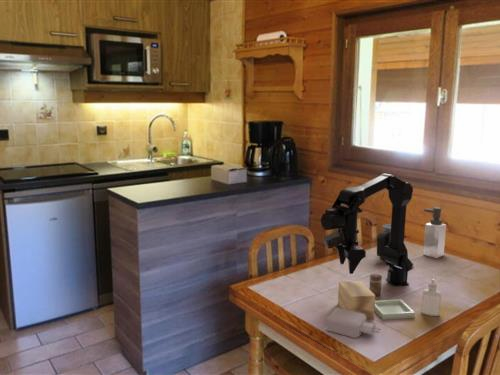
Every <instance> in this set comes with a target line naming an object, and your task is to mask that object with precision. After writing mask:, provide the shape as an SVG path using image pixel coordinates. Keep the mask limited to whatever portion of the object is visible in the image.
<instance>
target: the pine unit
mask: <svg viewBox="0 0 500 375" xmlns="http://www.w3.org/2000/svg"><path fill="white" fill-rule="evenodd" d="M337 294H338V295H337V296H338V297H337V305H338V306H339V308H342V309H346V310H350V311H354V312H358V313H362V314H364V315H365V316H366V320H372V319H375V311H374V309H375V301H376V296H375V295H374V294H373V292H372V291H371V290H370V287H368V286H367V285H366V284H365V283H364V282H363V281H362V280H352V281H351V280H350V281H338V293H337Z"/></svg>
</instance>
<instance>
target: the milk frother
mask: <svg viewBox="0 0 500 375" xmlns="http://www.w3.org/2000/svg"><path fill="white" fill-rule="evenodd" d="M382 227H383V228H382V230H381V231H380V232H379V233H378V235H377V236H376V256H378V257H379V258H380V259H381V260H383V261H385V260H384V256H383V254H384V246H387V245H388V243H389V242H390V234H391V223H386V224H383V225H382ZM412 264H413V265H414V263H413V262H412Z"/></svg>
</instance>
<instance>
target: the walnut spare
mask: <svg viewBox="0 0 500 375" xmlns="http://www.w3.org/2000/svg"><path fill="white" fill-rule="evenodd" d="M369 276H370V277H369V289H370V290H371V291H372V292H373V294H374V295H375V297H381V294H382V281H383V280H382V279H383V276H382V275H381V274H379V273H372V274H370V275H369Z"/></svg>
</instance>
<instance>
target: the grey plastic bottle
mask: <svg viewBox="0 0 500 375" xmlns="http://www.w3.org/2000/svg"><path fill="white" fill-rule="evenodd" d="M381 330H382V329H381V328H378V327H376V324H375V323H370V322H367V319H366V316H365V315H364V314H362V313H358V312H354V311H350V310H346V309H342V308H341V307H336V308H334V309H333V310H332V312H331V313H330V314H329V315H328V317H327V319H326V331H327V332H331V333H335V334H338V335H343V336H346V337H350V338H353V339H357V338H360V336H361V335H362V334H363V333H364V334H368V335H373V334H374V333H378V334H379V333H380V331H381Z"/></svg>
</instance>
